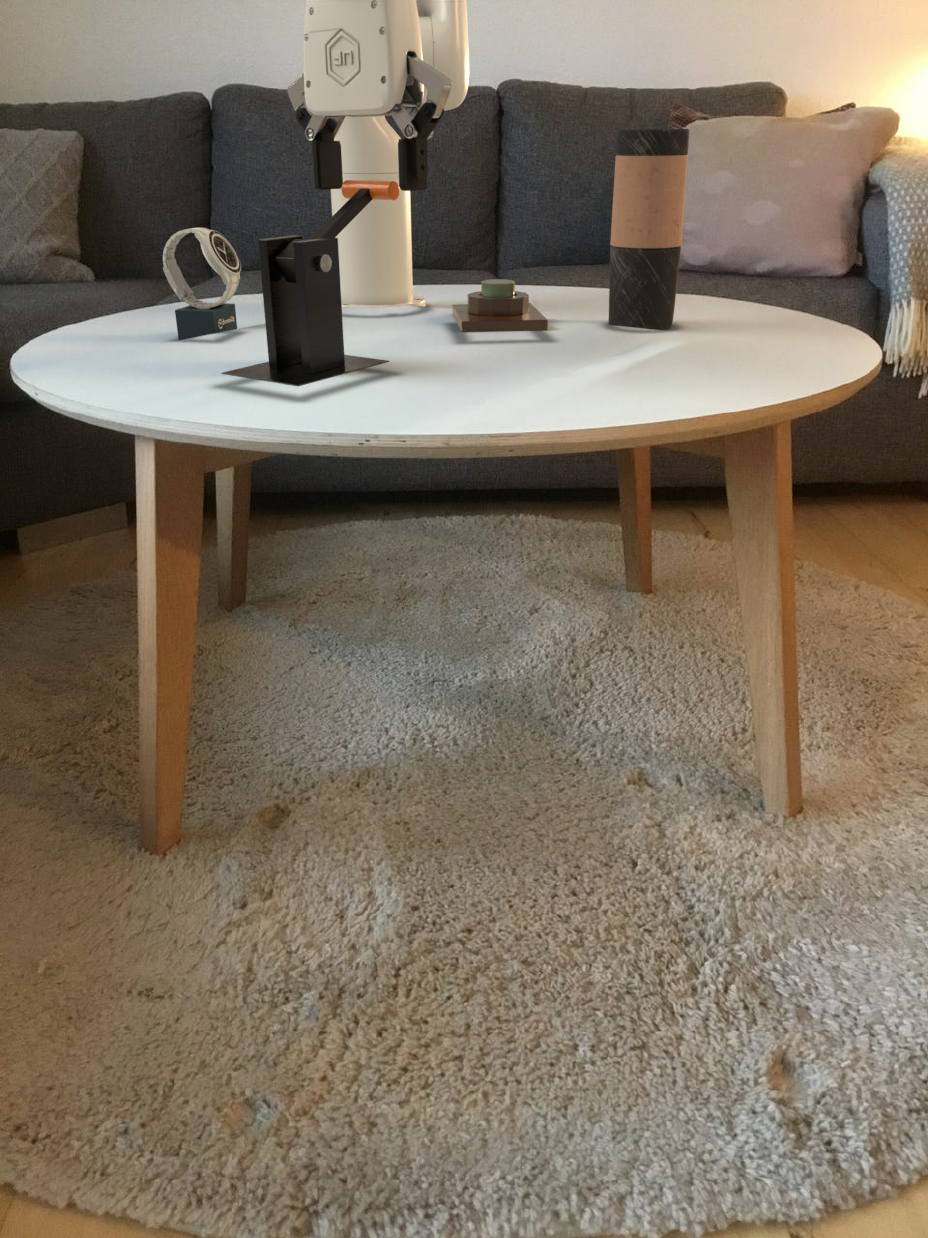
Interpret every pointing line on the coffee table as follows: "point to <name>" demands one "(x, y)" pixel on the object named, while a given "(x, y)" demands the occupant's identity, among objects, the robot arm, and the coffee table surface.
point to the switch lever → (342, 216)
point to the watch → (198, 314)
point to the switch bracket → (303, 316)
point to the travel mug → (647, 226)
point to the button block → (498, 314)
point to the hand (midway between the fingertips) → (370, 189)
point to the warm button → (498, 288)
